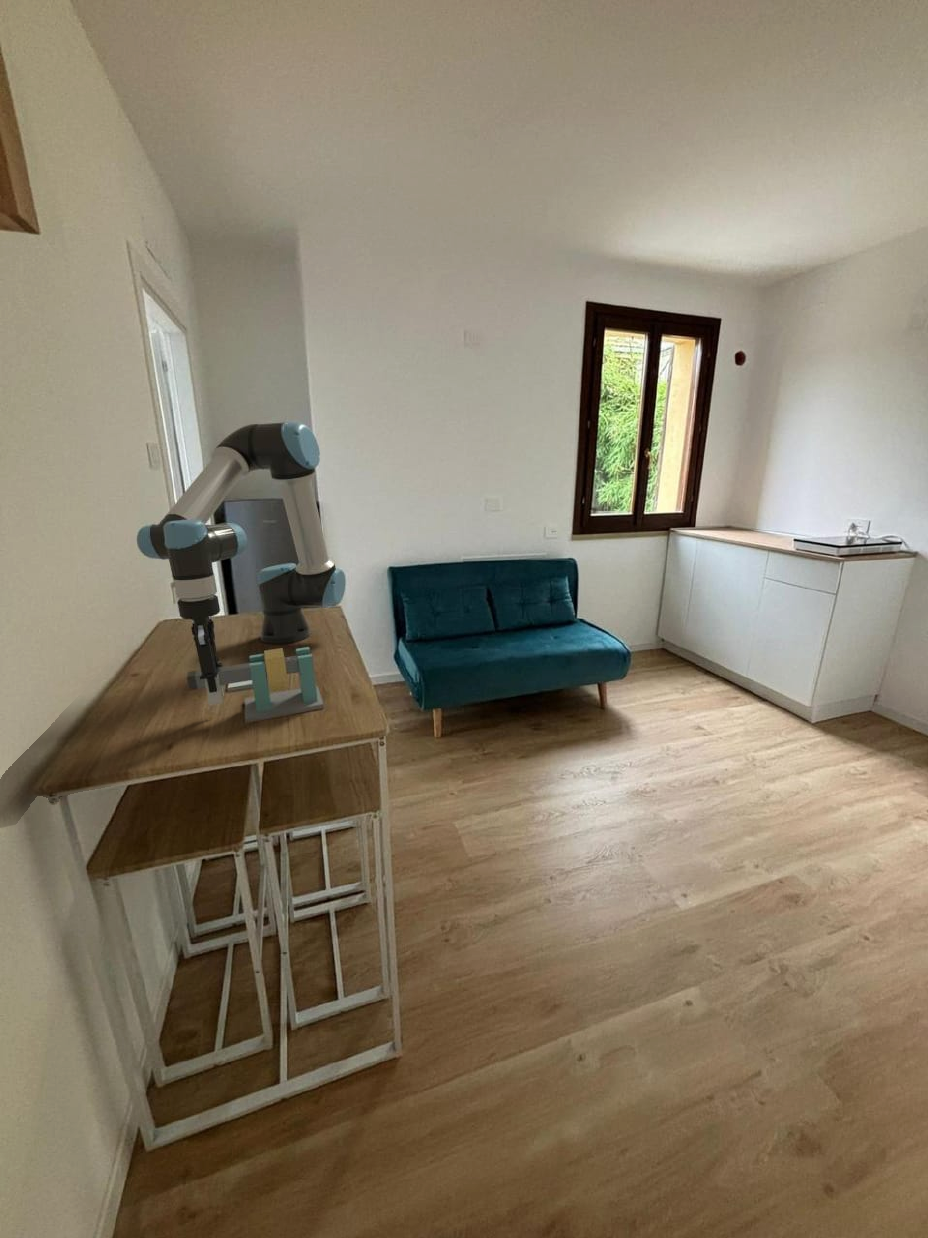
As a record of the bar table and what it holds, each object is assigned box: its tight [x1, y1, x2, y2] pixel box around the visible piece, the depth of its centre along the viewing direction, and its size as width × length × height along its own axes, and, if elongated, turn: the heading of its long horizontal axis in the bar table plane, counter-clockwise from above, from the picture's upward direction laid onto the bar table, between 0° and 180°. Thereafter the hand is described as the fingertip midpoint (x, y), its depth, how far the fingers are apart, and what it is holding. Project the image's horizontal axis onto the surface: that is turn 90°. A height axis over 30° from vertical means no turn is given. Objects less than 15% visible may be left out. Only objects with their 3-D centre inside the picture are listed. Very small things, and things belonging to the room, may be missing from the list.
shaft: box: [186, 652, 315, 691], centre depth 113 cm, size 3×26×3 cm, turn 112°
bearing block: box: [244, 646, 325, 724], centre depth 116 cm, size 11×16×12 cm, turn 112°
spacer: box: [263, 647, 289, 693], centre depth 115 cm, size 6×4×8 cm, turn 22°
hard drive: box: [227, 680, 253, 692], centre depth 133 cm, size 2×8×12 cm
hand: (216, 700), depth 112 cm, fingers closed on shaft, 3 cm apart
